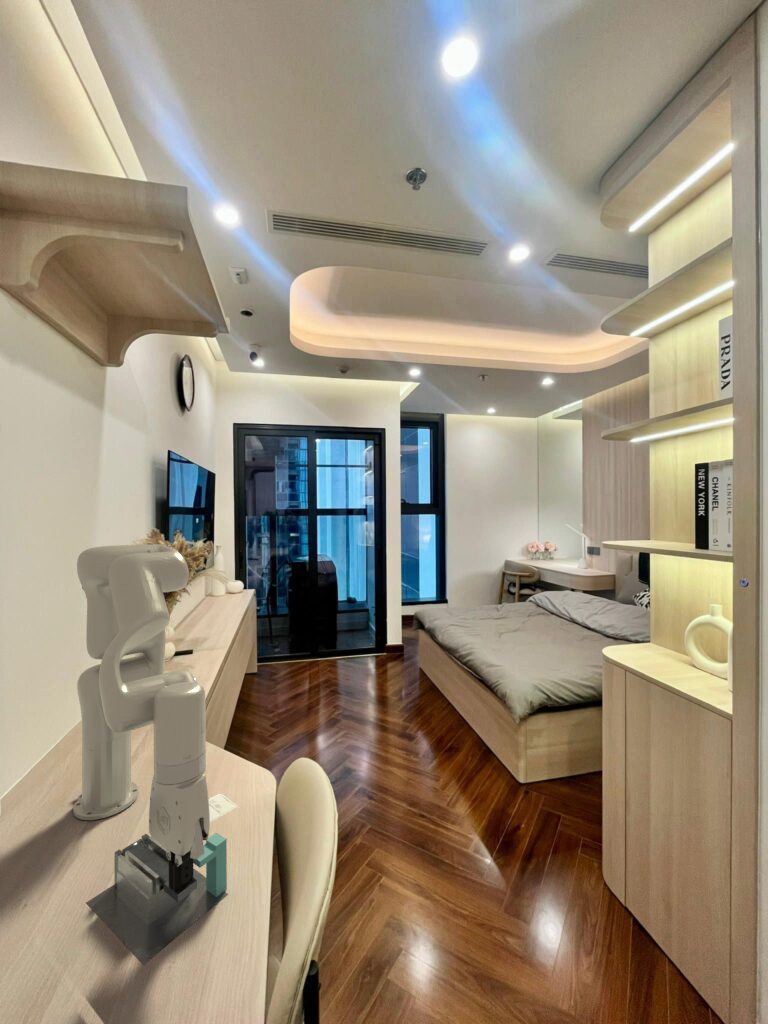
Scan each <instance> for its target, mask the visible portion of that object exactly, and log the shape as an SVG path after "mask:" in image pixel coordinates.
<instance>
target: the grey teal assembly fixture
mask: <svg viewBox="0 0 768 1024" xmlns="http://www.w3.org/2000/svg"><path fill="white" fill-rule="evenodd" d="M141 839H142V841H143V844H144V845H145V846H147V847H148V848H149V849H151V850H152V851H153V852H155V853H156V854H157V855H159V856H160V857H161V858H163V859H164V860H165V861H167V862H168V863H169V861H171V860H168V858H167V853H166V847H164V846H163V845H162V844H160V843H159V842H158V841H156V840H155V839H154V838H153V837H152V836H151V835H150V834H148V833H144V834H143V835H141ZM193 878H195V879H196V880H197V888H196V889H195V890H194V891H192V892H191V893H190V894H188V895H187V896H186V897H185V898H183V899H182V900H181V901H179V902H177V901H175V900H174V899H173V898H172V897H171V896H169V895H168V894H167V893H166V892H165V891H164V886H163V885H161V884H160V883H159V876H158V875H157V874H156V873H155V872H154V871H152V870H151V869H150V868H149V867H147V866H146V865H145V864H144V863H143V862H141V861H140V860H139V859H138V858H137V857H135V856H134V855H133V854H132V853H130V852H129V851H126V852H125V857H124V856H123V852H122V849H118V850H116V851H114V884H113V885H111V886H110V887H108V888H106V889H105V890H104V891H101V892H100V893H99V894H97V895H96V896H94V897H93V898H91V899H89V900H88V901H86V902H85V903H86V905H87V906H88V907H89V908H90V909H91V910H92V911H93V912H94V913H95V914H96V915H97V916H98V917H99V919H101V920H102V922H103V923H104V924H105V925H106V926H107V927H108V928H109V929H110V930H111V931H112V932H113V933H114V935H115V936H116V937H118V939H119V940H120V941H121V943H123V944H124V946H126V948H127V949H128V950H129V951H130V952H131V953H132V954H133V955H134V956H135V957H136V958H137V959H138V960H139V962H140V963H141V964H142V965H146V964H147V963H148V962H149V961H150V960H151V959H153V958H154V957H155V956H156V955H158V954H159V953H160V952H161V951H162V950H163V949H164V948H166V947H167V946H169V944H171V943H172V942H173V941H174V940H176V939H177V938H178V937H179V936H180V935H181V934H183V933H184V932H186V930H187V929H189V928H190V927H191V926H192V925H193V924H195V923H196V922H197V921H198V920H199V919H201V918H202V917H203V916H204V915H206V913H208V912H209V911H210V910H211V909H213V908H214V907H215V906H216V905H218V903H220V902H221V901H223V900H224V899H225V898H226V897H227V896H228V895H229V894H228V892H227V891H226V890H225V891H224V892H222V893H221V894H220V895H219V896H218V897H215V896H214V895H213V894H211V893H210V892H209V891H207V890H206V875H204V874H202V873H201V872H199V871H198V870H197V869H195V868H194V867H193Z"/></svg>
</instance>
